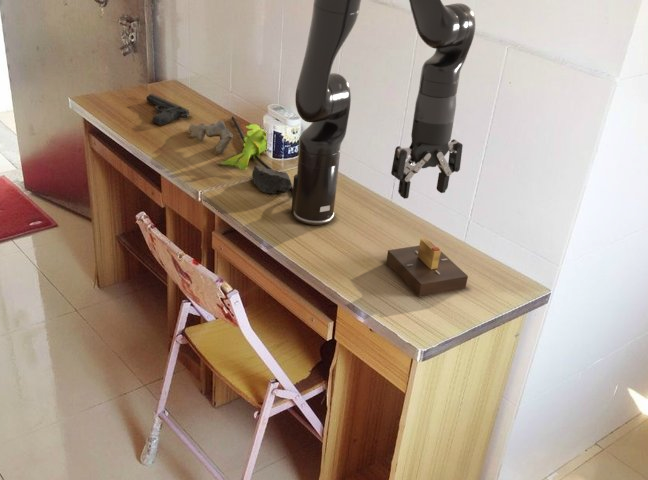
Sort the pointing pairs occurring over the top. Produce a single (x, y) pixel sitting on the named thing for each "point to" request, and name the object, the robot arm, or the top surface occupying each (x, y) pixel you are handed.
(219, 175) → the top surface
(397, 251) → the lock plate
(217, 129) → the grey lumpy bent piece
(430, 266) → the red-tipped tan block
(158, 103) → the handgun
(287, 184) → the rock
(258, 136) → the toy
